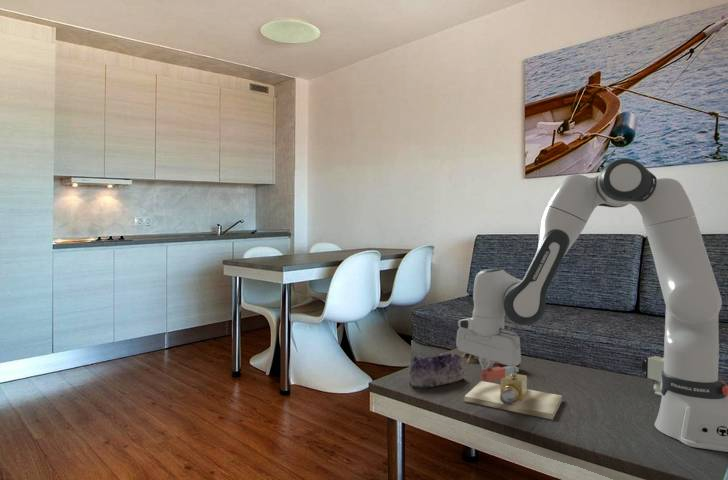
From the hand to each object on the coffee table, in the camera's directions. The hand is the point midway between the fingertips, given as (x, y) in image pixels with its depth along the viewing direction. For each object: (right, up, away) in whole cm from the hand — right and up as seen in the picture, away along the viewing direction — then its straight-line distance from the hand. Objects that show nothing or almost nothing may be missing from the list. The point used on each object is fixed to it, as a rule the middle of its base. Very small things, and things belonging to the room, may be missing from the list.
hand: (486, 373), depth 132 cm
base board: (+9, -9, +3) cm, 13 cm away
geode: (-11, -9, +20) cm, 24 cm away
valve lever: (+4, -1, 0) cm, 4 cm away
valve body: (+9, -9, +3) cm, 13 cm away
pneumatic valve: (+57, -9, +9) cm, 58 cm away
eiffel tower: (+9, -8, +46) cm, 48 cm away
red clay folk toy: (+17, -8, +34) cm, 39 cm away
